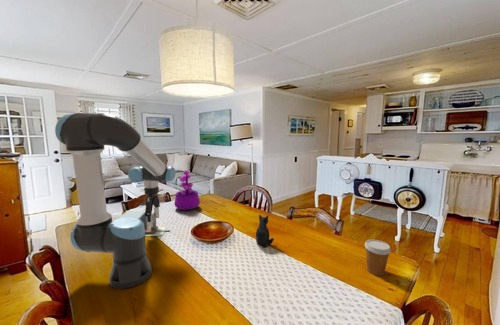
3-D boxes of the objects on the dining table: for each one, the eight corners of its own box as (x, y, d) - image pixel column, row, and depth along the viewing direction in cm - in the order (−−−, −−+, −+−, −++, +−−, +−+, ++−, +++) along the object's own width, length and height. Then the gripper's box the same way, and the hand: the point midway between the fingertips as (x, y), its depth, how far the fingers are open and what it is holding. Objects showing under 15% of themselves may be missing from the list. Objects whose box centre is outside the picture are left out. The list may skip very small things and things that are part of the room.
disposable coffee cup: (388, 281, 89) (390, 252, 88) (361, 273, 94) (363, 246, 93) (388, 269, 97) (391, 242, 96) (364, 262, 102) (365, 237, 101)
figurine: (274, 241, 123) (275, 214, 121) (272, 250, 113) (273, 221, 111) (257, 239, 124) (257, 213, 123) (253, 248, 115) (253, 219, 113)
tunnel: (167, 236, 128) (166, 217, 126) (104, 239, 123) (102, 219, 122) (172, 226, 141) (171, 209, 140) (115, 229, 137) (114, 211, 136)
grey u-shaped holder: (154, 233, 130) (153, 216, 129) (125, 234, 128) (123, 217, 127) (158, 228, 137) (157, 212, 136) (130, 229, 135) (128, 213, 134)
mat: (162, 235, 129) (162, 235, 129) (143, 236, 127) (143, 235, 127) (166, 227, 140) (166, 227, 140) (149, 228, 138) (149, 227, 138)
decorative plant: (186, 214, 163) (184, 173, 159) (169, 209, 173) (167, 170, 169) (204, 207, 178) (204, 169, 174) (188, 203, 188) (187, 167, 184)
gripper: (151, 192, 118) (154, 230, 121) (163, 181, 143) (165, 214, 146) (136, 192, 117) (139, 231, 120) (151, 182, 142) (153, 214, 145)
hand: (153, 222), depth 133 cm, fingers open, 13 cm apart
